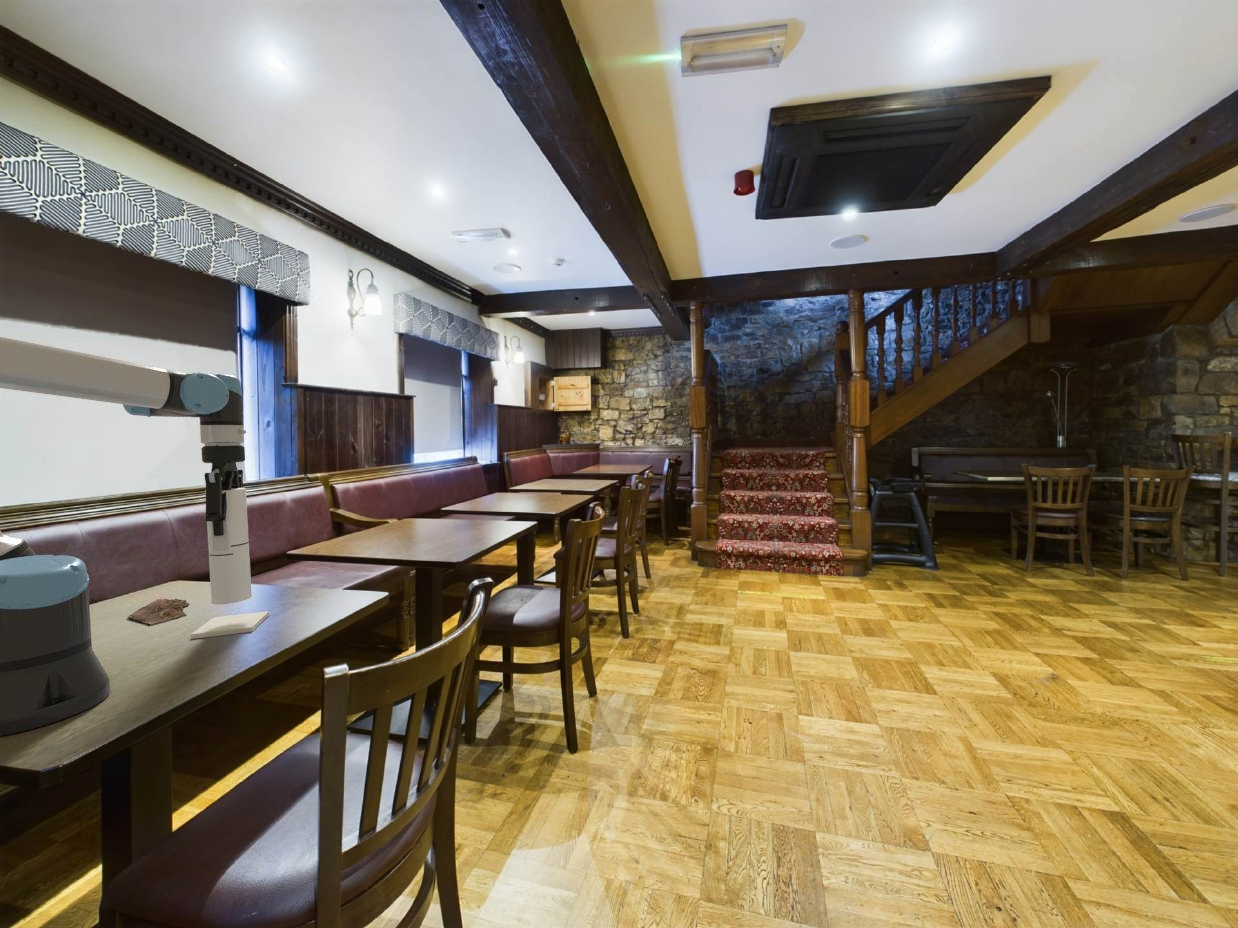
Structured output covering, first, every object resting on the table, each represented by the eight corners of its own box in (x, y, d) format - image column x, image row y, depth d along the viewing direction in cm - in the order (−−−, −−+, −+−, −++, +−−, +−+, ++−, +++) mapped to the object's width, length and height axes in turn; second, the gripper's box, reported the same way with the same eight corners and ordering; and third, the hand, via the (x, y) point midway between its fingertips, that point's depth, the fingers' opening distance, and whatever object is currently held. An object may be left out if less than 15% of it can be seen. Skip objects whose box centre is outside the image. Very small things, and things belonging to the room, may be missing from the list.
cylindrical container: (257, 597, 113) (251, 488, 111) (219, 606, 107) (212, 491, 105) (243, 592, 116) (237, 487, 115) (206, 601, 110) (199, 490, 109)
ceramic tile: (252, 631, 108) (252, 626, 108) (190, 638, 105) (190, 634, 105) (269, 615, 119) (269, 611, 119) (213, 621, 115) (213, 617, 115)
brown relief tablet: (185, 620, 116) (184, 616, 116) (119, 632, 110) (119, 627, 110) (192, 595, 137) (191, 592, 137) (137, 604, 130) (136, 600, 130)
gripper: (224, 444, 102) (230, 554, 103) (259, 444, 120) (264, 537, 122) (179, 445, 99) (186, 557, 100) (222, 445, 118) (227, 539, 119)
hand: (228, 546), depth 111 cm, fingers closed on cylindrical container, 7 cm apart
